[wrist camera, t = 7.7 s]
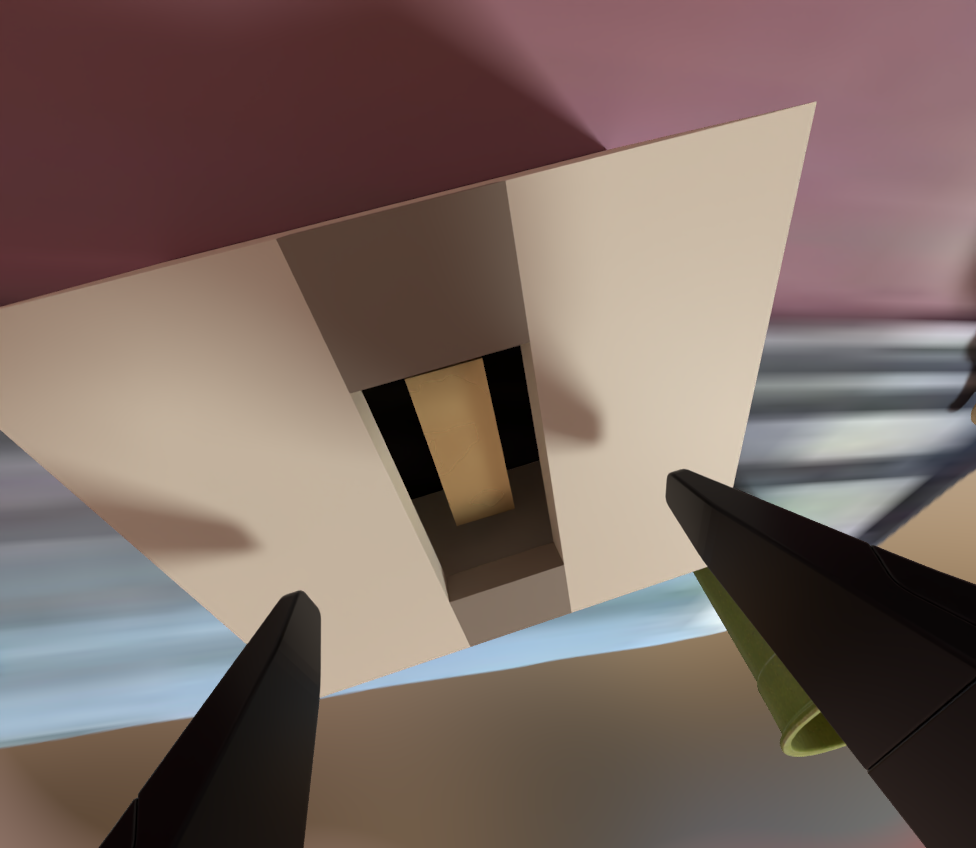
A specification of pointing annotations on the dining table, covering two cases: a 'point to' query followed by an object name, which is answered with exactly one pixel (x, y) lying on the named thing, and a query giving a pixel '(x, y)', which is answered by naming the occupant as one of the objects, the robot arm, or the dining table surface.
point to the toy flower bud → (973, 415)
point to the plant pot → (773, 679)
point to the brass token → (463, 438)
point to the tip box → (414, 350)
